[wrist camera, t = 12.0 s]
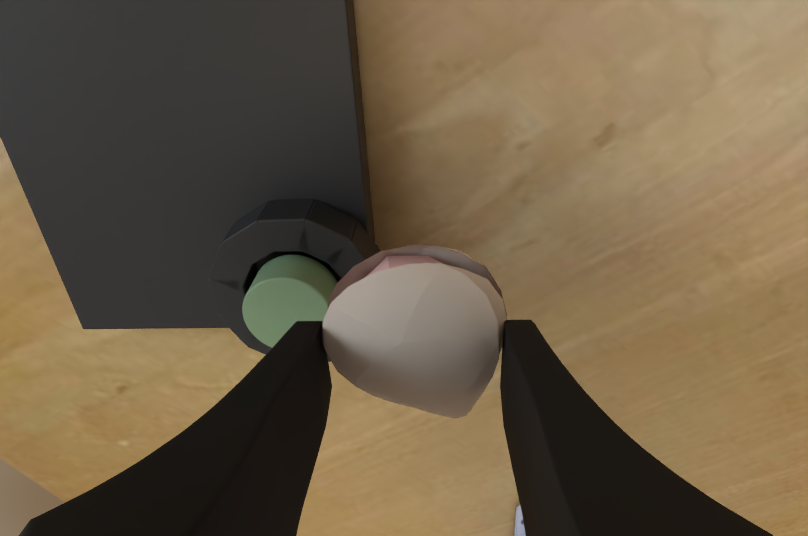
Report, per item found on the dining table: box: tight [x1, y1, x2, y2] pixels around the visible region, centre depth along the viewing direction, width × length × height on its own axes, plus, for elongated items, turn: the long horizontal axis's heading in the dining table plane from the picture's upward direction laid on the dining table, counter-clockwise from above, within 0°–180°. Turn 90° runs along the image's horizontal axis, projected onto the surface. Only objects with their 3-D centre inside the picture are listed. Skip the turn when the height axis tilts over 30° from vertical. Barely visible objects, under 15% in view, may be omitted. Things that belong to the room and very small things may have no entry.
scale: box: [0, 0, 381, 362], centre depth 19 cm, size 14×12×3 cm
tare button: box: [242, 255, 337, 348], centre depth 19 cm, size 3×3×2 cm
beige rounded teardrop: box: [321, 245, 507, 418], centre depth 13 cm, size 4×5×2 cm
